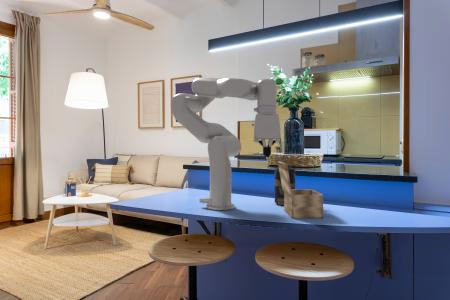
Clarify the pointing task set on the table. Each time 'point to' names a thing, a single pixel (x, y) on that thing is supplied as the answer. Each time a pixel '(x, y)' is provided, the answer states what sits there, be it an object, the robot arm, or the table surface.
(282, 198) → the canister
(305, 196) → the brown wooden box
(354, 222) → the table surface
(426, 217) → the table surface
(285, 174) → the lid
